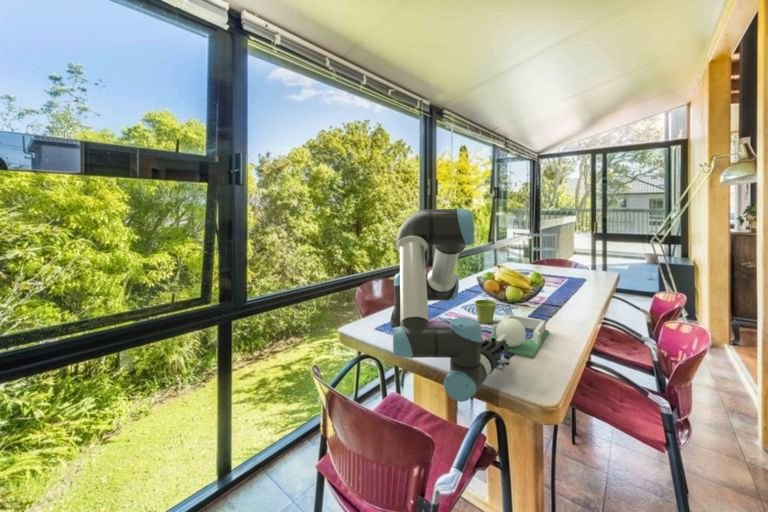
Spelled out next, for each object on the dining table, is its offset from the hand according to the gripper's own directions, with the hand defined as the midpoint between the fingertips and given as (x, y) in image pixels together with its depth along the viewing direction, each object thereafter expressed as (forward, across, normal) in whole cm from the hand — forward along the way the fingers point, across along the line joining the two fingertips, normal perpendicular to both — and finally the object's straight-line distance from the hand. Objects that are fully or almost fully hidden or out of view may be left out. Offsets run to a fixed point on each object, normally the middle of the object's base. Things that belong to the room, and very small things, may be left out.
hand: (503, 338), depth 114 cm
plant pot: (+32, -17, -7) cm, 36 cm away
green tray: (+18, 0, -7) cm, 19 cm away
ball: (+9, 0, -1) cm, 9 cm away
